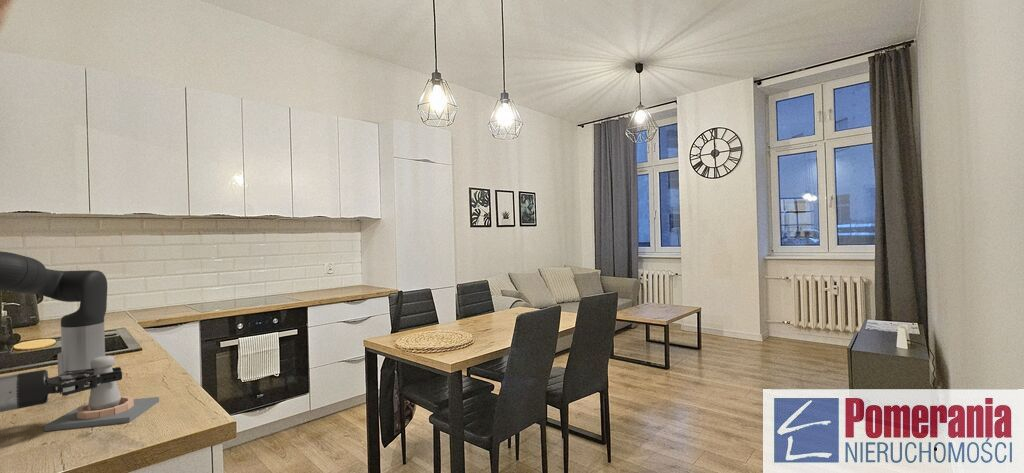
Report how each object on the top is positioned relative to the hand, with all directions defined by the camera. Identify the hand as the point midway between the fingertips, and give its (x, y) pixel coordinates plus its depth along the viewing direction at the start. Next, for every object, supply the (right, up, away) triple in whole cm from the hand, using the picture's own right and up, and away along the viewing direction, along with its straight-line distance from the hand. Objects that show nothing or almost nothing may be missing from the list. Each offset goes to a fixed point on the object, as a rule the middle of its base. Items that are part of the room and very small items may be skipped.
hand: (120, 373), depth 108 cm
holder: (-2, -10, -2) cm, 10 cm away
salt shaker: (-2, -9, -2) cm, 9 cm away
